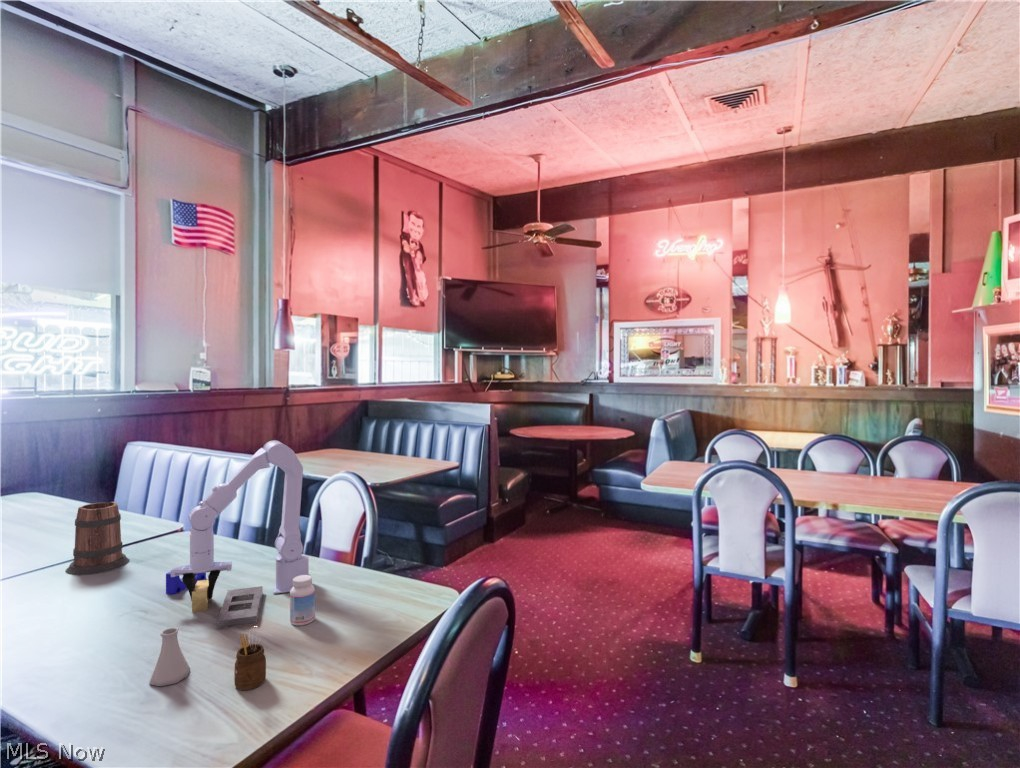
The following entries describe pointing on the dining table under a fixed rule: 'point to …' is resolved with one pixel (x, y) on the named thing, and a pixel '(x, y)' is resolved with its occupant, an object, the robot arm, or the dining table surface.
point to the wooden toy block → (200, 596)
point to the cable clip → (179, 583)
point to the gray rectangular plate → (240, 607)
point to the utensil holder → (249, 664)
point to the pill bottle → (302, 600)
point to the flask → (170, 661)
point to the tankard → (97, 540)
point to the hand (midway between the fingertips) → (202, 598)
